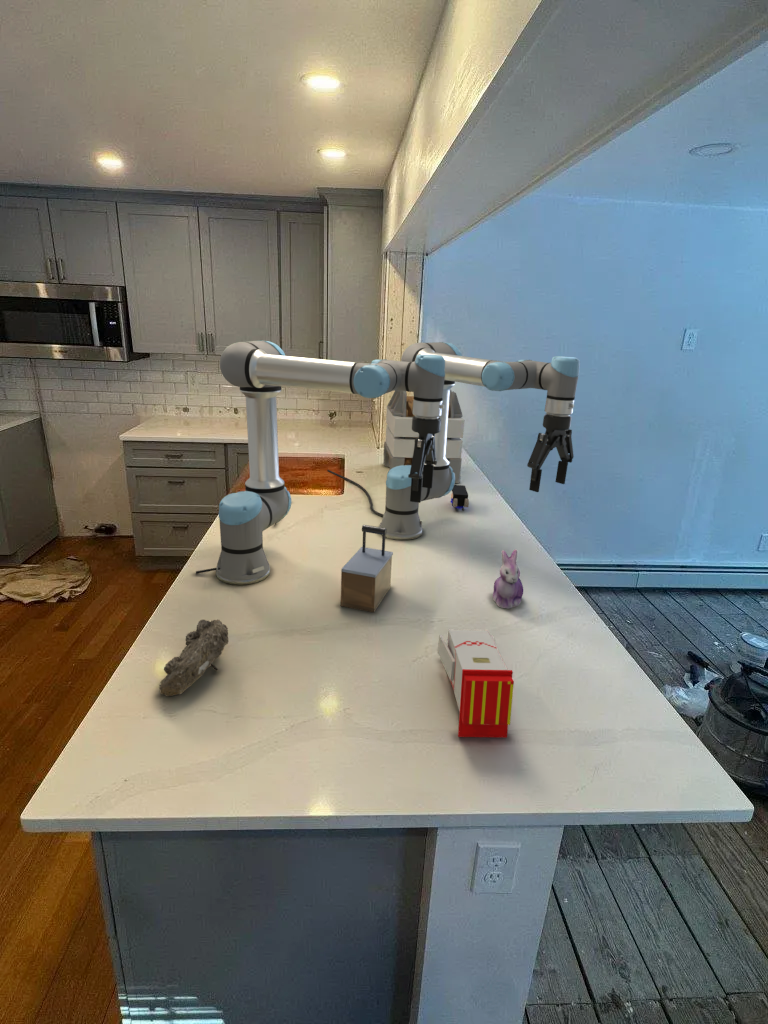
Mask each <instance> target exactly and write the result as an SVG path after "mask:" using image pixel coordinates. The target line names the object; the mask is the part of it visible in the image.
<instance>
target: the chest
mask: <svg viewBox="0 0 768 1024" xmlns="http://www.w3.org/2000/svg"><path fill="white" fill-rule="evenodd" d="M392 562H393V555H392V556H391V558H390V559H389V560H388V561H387V563H386V564H385V565H384V567H383V568H382V569H381V571H380V572H379V573H378V575H377V576H376V577H375V578H374V577H369V576H363V575H358V574H352V573H347V572H340V575H341V576H340V607H342V608H343V607H344V608H348V609H354V610H359V611H364V612H370V613H375V612H376V610H377V609H378V607H379V606H380V604H381V603H382V601H383V599H385V597H386V595H387V594H388V593H389V591H390V589H391V584H392V583H391V582H392V581H391V580H392Z"/></svg>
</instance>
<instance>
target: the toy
mask: <svg viewBox="0 0 768 1024" xmlns="http://www.w3.org/2000/svg"><path fill="white" fill-rule="evenodd" d="M446 640H447V643H446V641H445V639H444V636H443V635H442V634H439V637H438V646H437V656H438V657H439V659H440V661H441V663H442V666H443V668H444V670H445V672H446V674H447V677H448V679H449V681H450V684H451V687H452V690H453V693H454V697H455V701H456V705H457V708H458V711H459V714H458V715H459V716H458V730H457V731H458V732H457V737H458V738H508V731H509V726H510V725H511V717H512V707H513V697H514V696H513V695H514V684H515V680H514V679H513V673H514V671H513V670H512V669H508V667H507V665H506V662H505V661H504V659H503V658H502V655H501V653H500V651H499V649H498V647H497V643H496V639H495V637H494V635H493V634H491V632H490V631H489V629H467V628H466V629H465V628H463V629H461V628H460V629H459V628H448V630H447V639H446Z"/></svg>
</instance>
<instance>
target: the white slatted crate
mask: <svg viewBox="0 0 768 1024" xmlns="http://www.w3.org/2000/svg"><path fill="white" fill-rule="evenodd" d="M407 394H408V393H407V391H394V392H393V394H392V395H391V398H390V400H389V402H388V404H387V405H386V413H385V414H386V415H385V423H386V428H385V438H384V442H383V466H384V467H388V468H389V470H390V469H392V468H394V467H397V466H401V465H404V466H406V465H411V464H412V458H413V452H414V445H415V439H418V438H419V433H417V432H414V431H413V430H412V418H413V417H414V416H415V415H413V414H412V412H413V399H414V395H412V396H411V395H407ZM464 429H465V419H464V418H463V411H462V408H461V405H460V402H459V398H458V395H457V392H455V391H453V390H452V389H450V396H449V411H448V426H447V442H446V459H447V460H448V461H449V466H450V467H451V468H452V469H453V473H454V474H455V483H456V484H459V483H461V472H462V461H463V460H462V453H463V442H464V441H463V440H462V439H463V438H464V431H465V430H464Z"/></svg>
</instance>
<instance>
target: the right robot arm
mask: <svg viewBox="0 0 768 1024" xmlns="http://www.w3.org/2000/svg"><path fill="white" fill-rule="evenodd" d="M420 354H427V355H439V356H442V357H444V359H445V379H444V389H443V401H442V405H444V409H442V413H441V416H440V417H439V418H440V419H441V429H440V432H439V433H436V434H435V450H436V460H435V461H437V464H436V465H434V469H433V482H432V488H425V487H422V492H421V502H425V501H428V500H433V499H441V498H442V497H445V496H447V495H449V493H452V489H453V487H454V485H456V484H455V474H454V473H453V469H452V468H451V467H450V466H449V461H448V460H447V459H446V442H447V426H448V411H449V396H450V390H452V388H453V387H454V386H455V385H456V383H461V384H462V383H463V384H467V385H473V386H478V387H485V388H486V389H487V390H489V391H491V392H504V391H511V390H525V389H535V390H542V391H547V392H546V397H545V405H544V412H545V413H544V414H543V418H542V419H543V420H542V427H543V428H545V432H544V433H542V432H538V434H537V438H536V442H535V444H534V447H533V450H532V452H531V454H530V457H529V459H528V462H527V465H526V466H527V467H528V468H530V469H531V471H530V472H531V474H530V481H529V491H532V492H535V493H539V492H540V487H541V479H542V474H543V473H542V472H543V469H541V468H542V466H543V465H544V463H545V461H546V459H547V458H548V456H549V454H550V452H552V451H553V450H554V449H556V451H557V454H558V456H559V459H560V460H558V461H557V469H556V475H555V483H557V484H561V485H566V478H567V472H568V466H569V463H572V462H573V459H574V457H575V456H574V455H575V454H574V449H573V448H574V447H573V440H572V439H573V438H572V436H573V435H572V433H573V429H571V426H572V419H573V417H572V414H573V412H574V408H575V400H576V392H577V387H578V386H577V385H578V381H579V377H580V367H581V361H580V359H579V358H577V357H573V356H564V355H563V356H561V355H560V356H559V355H556V356H553V357H552V358H551V362H545V361H537V360H532V359H519V360H517V361H503V360H502V361H501V360H493V359H486V358H479V357H472V356H465V355H463V354H462V352H461V350H459V347H458V346H457V345H455V344H454V343H451V342H445V341H441V342H440V341H439V342H438V341H436V342H415V343H412V344H410V345H408V346H407V347H405V350H404V351H403V352H402V354H401V359H400V361H404V362H415V360H416V357H417V355H420ZM424 464H425V463H424ZM423 468H424V467H423ZM410 470H411V465H401V466H397V467H394V468H392V469H390V468H389V470H388V472H387V475H386V479H385V504H384V505H385V507H384V508H385V509H384V513H381V512H378V511H376V510H375V509H374V505H373V501H372V498H371V495H370V493H369V491H367V490H366V489H365V488H364V487H363V486H362V485H360V484H359V483H358V482H357V481H354V480H352V479H350V478H348V477H346V476H343V475H341V474H339V473H336V472H334V471H333V470H330V469H327V470H326V472H328V473H330V474H331V475H334V476H336V477H338V478H341V479H342V480H345V481H347V482H350V483H351V484H353V485H354V486H356V487H358V488H360V489H361V490H362V491H363V492H364V493H365V495H366V496H367V499H368V501H369V505H370V506H369V509H370V511H371V512H372V513H373V514H374V515H377V516H379V517H382V519H381V522H379V525H378V527H382V528H387V533H386V536H385V538H387V539H389V540H395V541H410V540H415V539H418V538H420V537H421V536H422V535H423V525H422V524H423V522H422V520H421V518H420V515H419V507H420V506H419V505H420V503H418V502H411V501H410V495H411V479H412V478H409V477H408V475H409V474H410ZM422 482H423V472H422Z"/></svg>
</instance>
